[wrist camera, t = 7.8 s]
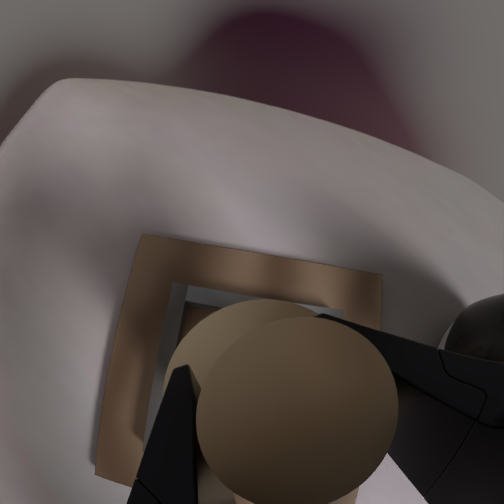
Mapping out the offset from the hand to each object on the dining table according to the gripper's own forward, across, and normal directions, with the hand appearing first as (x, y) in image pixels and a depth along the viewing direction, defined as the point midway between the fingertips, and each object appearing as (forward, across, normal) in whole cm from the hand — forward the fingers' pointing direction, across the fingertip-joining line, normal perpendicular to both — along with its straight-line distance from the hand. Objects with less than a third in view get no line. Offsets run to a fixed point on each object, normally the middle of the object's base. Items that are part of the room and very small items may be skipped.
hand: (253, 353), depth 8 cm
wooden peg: (+6, 0, +7) cm, 9 cm away
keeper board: (+8, 0, +10) cm, 13 cm away
